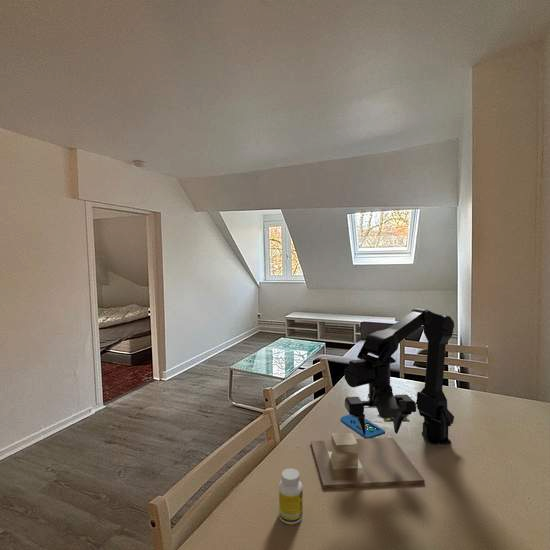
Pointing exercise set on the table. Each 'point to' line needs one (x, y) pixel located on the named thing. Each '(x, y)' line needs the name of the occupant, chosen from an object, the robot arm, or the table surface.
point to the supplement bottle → (290, 497)
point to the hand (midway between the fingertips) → (379, 433)
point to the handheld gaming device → (355, 425)
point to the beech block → (344, 449)
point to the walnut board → (366, 465)
